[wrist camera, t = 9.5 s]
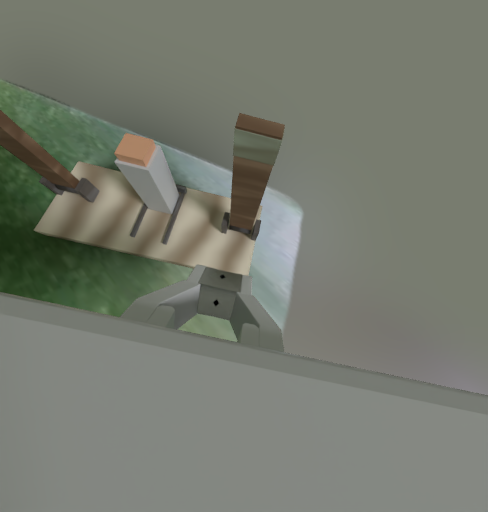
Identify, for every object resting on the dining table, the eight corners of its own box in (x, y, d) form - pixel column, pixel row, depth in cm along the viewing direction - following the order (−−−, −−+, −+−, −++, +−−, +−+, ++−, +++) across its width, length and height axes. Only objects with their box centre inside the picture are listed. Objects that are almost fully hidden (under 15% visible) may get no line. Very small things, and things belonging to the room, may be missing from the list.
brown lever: (84, 197, 29) (-112, 38, 12) (62, 192, 29) (-169, 23, 12) (90, 188, 30) (-91, 24, 13) (67, 183, 29) (-146, 10, 12)
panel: (43, 234, 29) (11, 221, 24) (85, 168, 33) (63, 146, 29) (246, 280, 30) (250, 275, 26) (260, 210, 34) (265, 196, 30)
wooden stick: (249, 236, 30) (282, 140, 13) (228, 231, 30) (234, 127, 13) (251, 226, 31) (285, 123, 14) (231, 221, 31) (239, 111, 14)
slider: (172, 214, 30) (144, 163, 20) (149, 209, 30) (109, 155, 20) (179, 195, 32) (157, 138, 21) (157, 189, 31) (123, 129, 21)
